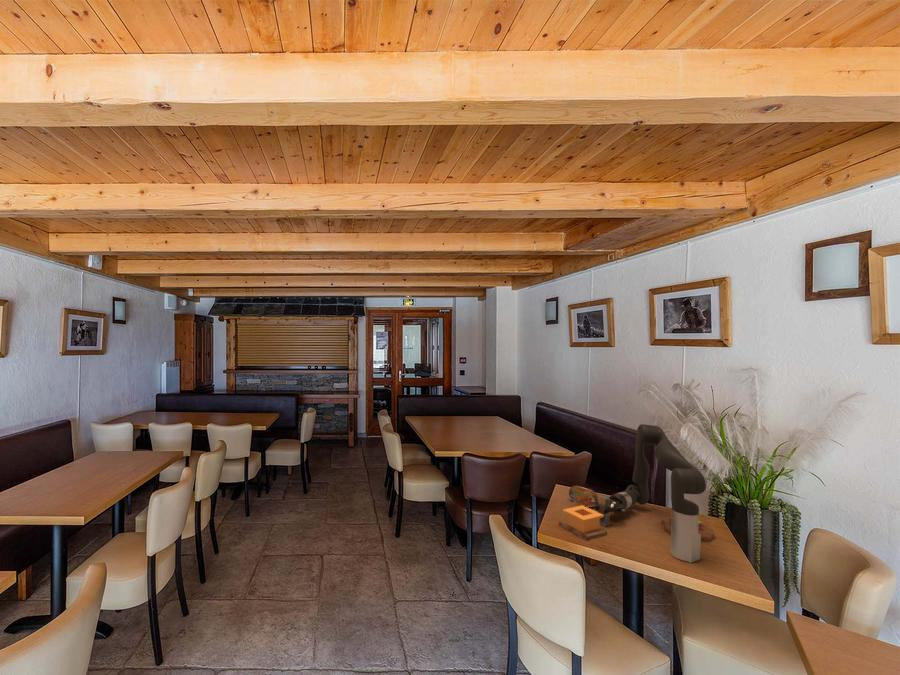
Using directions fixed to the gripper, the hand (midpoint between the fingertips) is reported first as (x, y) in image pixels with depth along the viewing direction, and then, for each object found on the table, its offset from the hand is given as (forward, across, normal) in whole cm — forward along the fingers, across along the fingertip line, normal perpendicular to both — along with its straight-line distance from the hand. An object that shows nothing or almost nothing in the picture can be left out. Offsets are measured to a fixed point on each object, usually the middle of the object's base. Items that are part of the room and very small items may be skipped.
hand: (600, 509), depth 190 cm
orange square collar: (+10, -2, +5) cm, 12 cm away
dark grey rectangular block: (-3, 0, +7) cm, 8 cm away
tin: (-16, -19, +7) cm, 26 cm away
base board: (+10, -2, +7) cm, 12 cm away
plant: (-27, +26, +8) cm, 38 cm away
